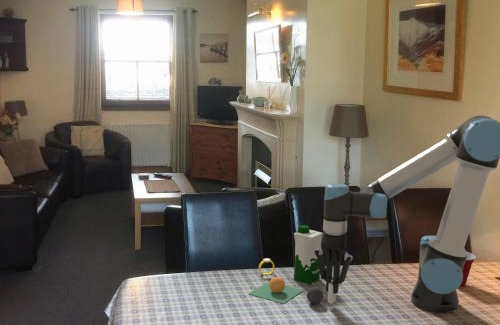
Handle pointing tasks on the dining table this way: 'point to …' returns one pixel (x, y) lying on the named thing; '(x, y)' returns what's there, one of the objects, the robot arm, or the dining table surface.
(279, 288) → the ball orange
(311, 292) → the cue ball black
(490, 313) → the dining table surface
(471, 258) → the plastic cup
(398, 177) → the robot arm
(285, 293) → the green mark
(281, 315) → the dining table surface
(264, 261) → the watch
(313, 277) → the milk carton
